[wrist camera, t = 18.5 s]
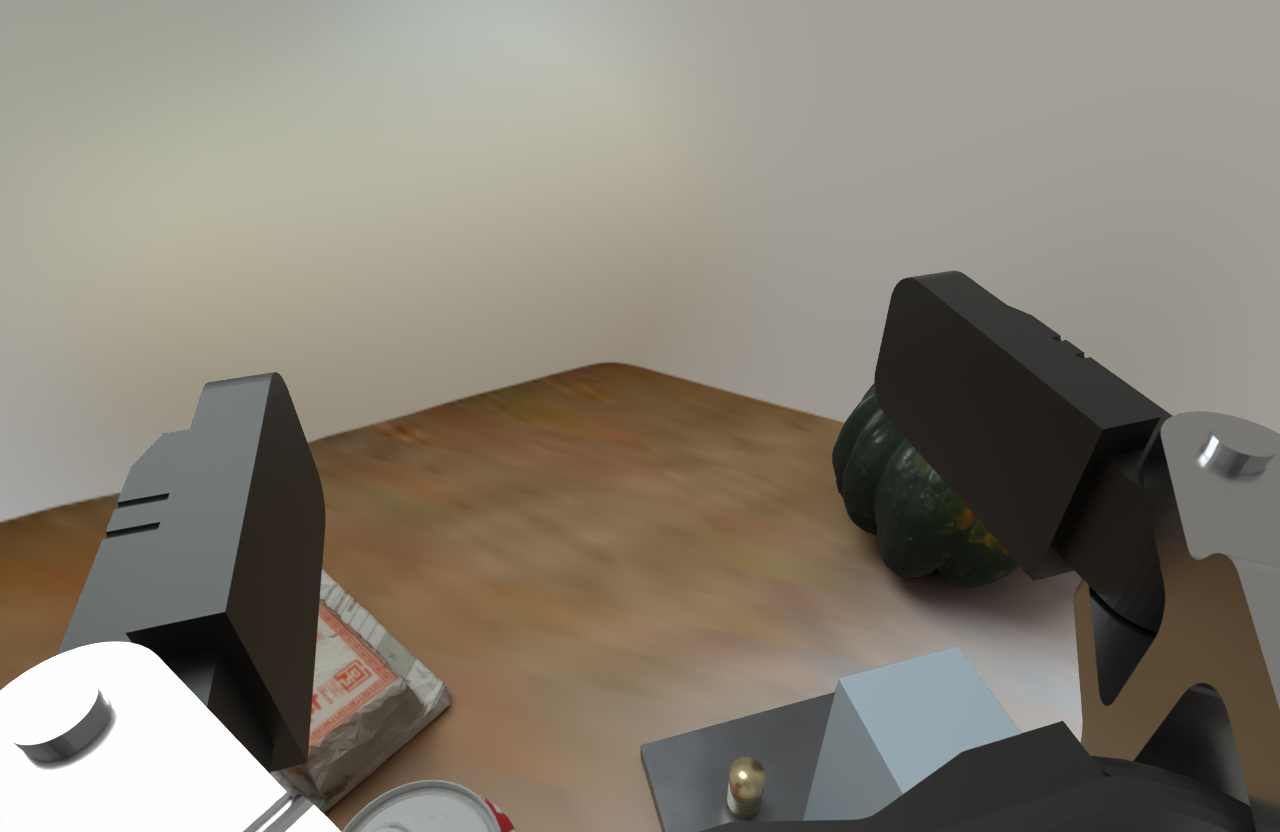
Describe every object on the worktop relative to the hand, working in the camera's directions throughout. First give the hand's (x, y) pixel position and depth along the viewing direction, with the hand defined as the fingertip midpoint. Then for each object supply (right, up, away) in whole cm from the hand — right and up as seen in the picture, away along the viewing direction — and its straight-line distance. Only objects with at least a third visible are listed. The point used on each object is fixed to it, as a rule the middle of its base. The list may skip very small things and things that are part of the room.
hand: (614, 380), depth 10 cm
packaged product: (-20, -16, +34) cm, 42 cm away
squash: (+20, -8, +42) cm, 47 cm away
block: (+11, -21, +23) cm, 33 cm away
